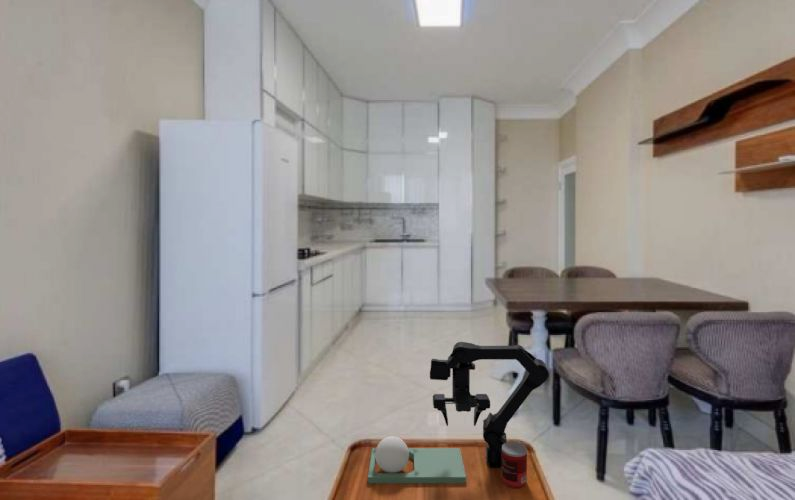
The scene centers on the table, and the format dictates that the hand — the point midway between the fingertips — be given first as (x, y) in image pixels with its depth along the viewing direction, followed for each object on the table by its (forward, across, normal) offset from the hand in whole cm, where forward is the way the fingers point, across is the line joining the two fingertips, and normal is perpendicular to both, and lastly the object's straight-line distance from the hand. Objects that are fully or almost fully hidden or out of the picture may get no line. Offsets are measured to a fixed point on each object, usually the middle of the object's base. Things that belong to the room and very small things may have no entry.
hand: (460, 425), depth 154 cm
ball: (+6, -23, -7) cm, 25 cm away
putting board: (+12, -15, -5) cm, 20 cm away
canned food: (+12, +15, -12) cm, 23 cm away
